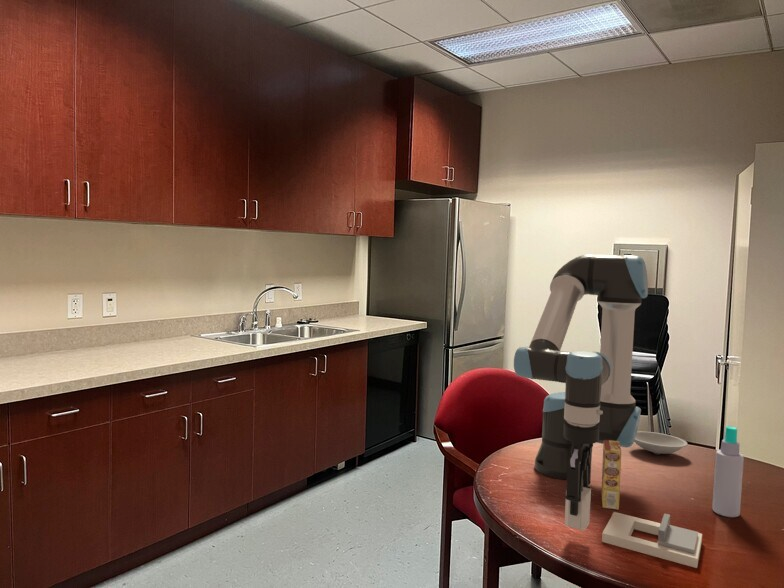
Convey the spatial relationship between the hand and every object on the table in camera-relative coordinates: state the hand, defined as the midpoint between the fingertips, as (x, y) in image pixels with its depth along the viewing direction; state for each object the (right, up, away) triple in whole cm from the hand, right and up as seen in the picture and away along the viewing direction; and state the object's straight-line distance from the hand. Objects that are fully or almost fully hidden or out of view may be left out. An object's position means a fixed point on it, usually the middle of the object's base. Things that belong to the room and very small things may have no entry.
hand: (577, 522), depth 129 cm
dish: (+45, -1, +59) cm, 75 cm away
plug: (0, 0, 0) cm, 0 cm away
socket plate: (+17, -4, 0) cm, 17 cm away
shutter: (+21, -3, -3) cm, 22 cm away
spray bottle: (+43, -4, +16) cm, 46 cm away
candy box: (+15, -3, +21) cm, 26 cm away
